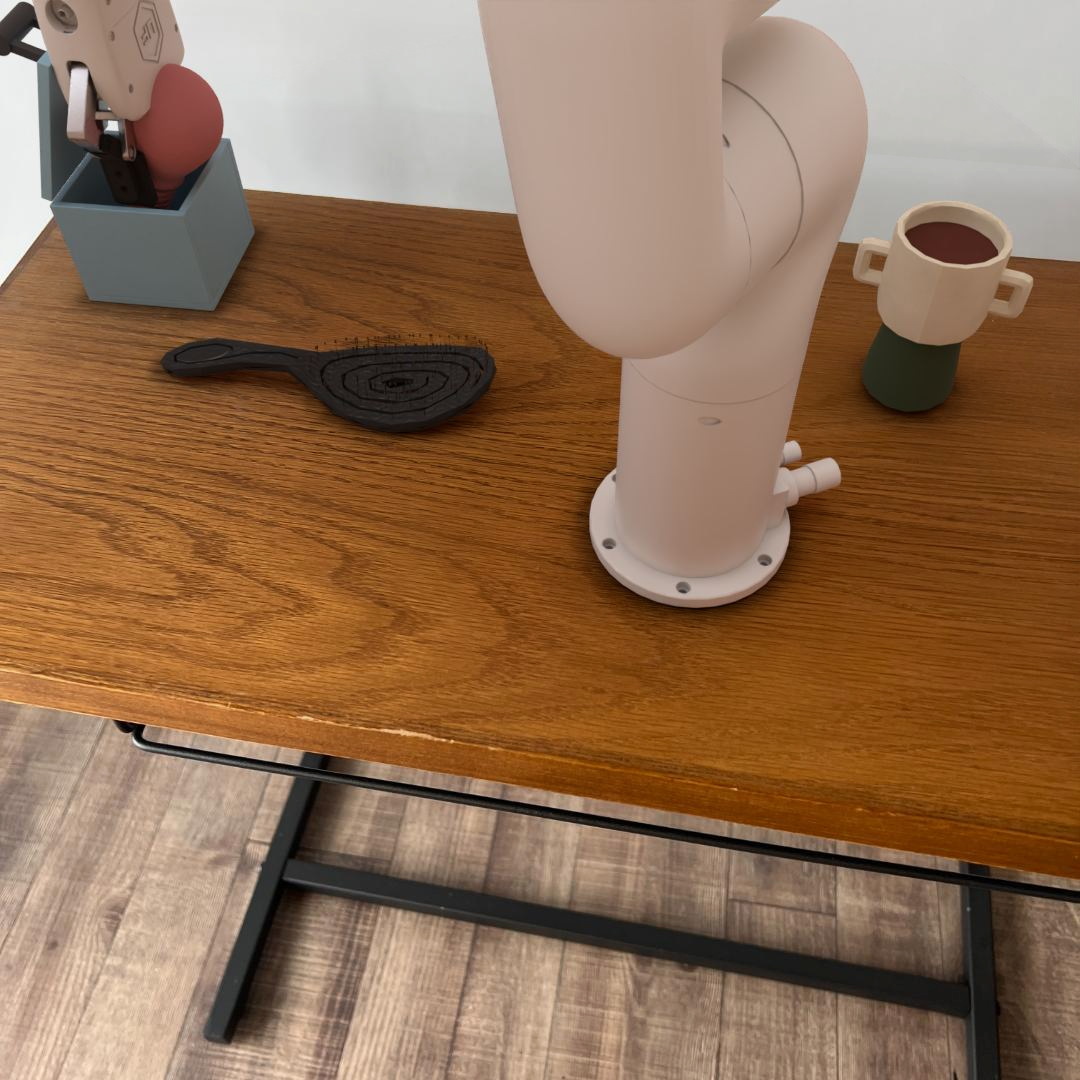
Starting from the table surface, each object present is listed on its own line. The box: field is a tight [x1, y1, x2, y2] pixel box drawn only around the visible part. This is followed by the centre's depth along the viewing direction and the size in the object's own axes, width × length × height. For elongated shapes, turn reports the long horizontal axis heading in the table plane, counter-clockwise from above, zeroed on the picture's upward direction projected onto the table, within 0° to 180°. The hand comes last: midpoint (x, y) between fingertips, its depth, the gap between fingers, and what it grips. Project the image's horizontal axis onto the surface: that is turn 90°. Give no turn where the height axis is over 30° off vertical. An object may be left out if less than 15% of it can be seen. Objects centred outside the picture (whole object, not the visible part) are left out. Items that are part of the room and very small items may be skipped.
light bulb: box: [128, 64, 225, 210], centre depth 79 cm, size 7×7×12 cm
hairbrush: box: [160, 333, 498, 434], centre depth 77 cm, size 8×4×25 cm
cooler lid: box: [0, 1, 109, 203], centre depth 76 cm, size 11×10×5 cm
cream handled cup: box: [852, 199, 1034, 413], centre depth 72 cm, size 11×7×13 cm, turn 66°
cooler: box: [49, 129, 256, 312], centre depth 84 cm, size 10×10×9 cm
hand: (156, 172), depth 81 cm, fingers closed on light bulb, 6 cm apart
